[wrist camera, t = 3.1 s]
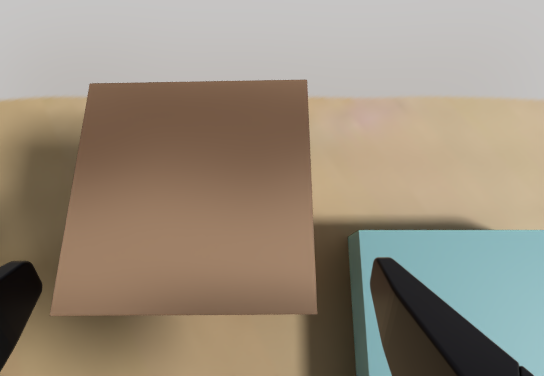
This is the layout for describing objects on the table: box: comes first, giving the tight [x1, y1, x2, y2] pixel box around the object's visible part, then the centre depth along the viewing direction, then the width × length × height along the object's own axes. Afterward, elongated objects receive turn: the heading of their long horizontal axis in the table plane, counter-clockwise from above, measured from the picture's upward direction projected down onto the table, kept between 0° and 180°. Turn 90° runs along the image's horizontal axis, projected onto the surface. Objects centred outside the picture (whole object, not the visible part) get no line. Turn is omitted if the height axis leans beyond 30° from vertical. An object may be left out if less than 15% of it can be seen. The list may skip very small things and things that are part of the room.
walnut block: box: [50, 80, 317, 316], centre depth 13 cm, size 6×6×11 cm
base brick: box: [348, 230, 544, 376], centre depth 16 cm, size 9×9×3 cm
